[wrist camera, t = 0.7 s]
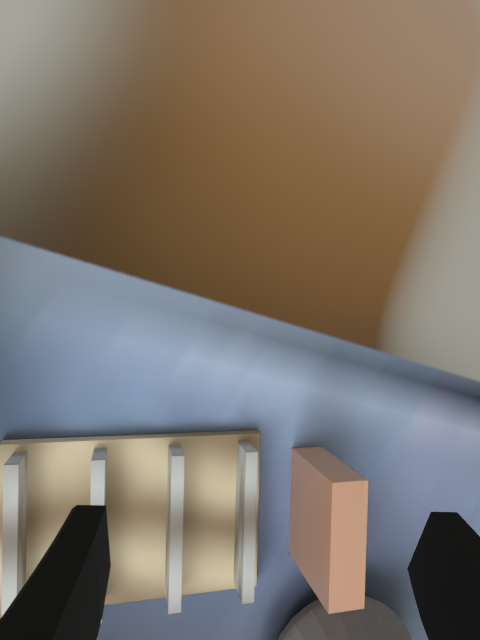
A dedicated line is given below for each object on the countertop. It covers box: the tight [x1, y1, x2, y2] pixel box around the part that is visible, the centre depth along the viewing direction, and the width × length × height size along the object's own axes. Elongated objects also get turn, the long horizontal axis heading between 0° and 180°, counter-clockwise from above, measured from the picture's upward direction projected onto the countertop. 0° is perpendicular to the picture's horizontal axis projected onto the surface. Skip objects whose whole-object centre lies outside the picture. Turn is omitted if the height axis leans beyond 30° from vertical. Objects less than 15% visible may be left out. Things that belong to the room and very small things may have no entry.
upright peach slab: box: [289, 447, 368, 614], centre depth 31 cm, size 8×2×7 cm, turn 178°
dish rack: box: [0, 430, 260, 623], centre depth 30 cm, size 11×17×4 cm, turn 89°
